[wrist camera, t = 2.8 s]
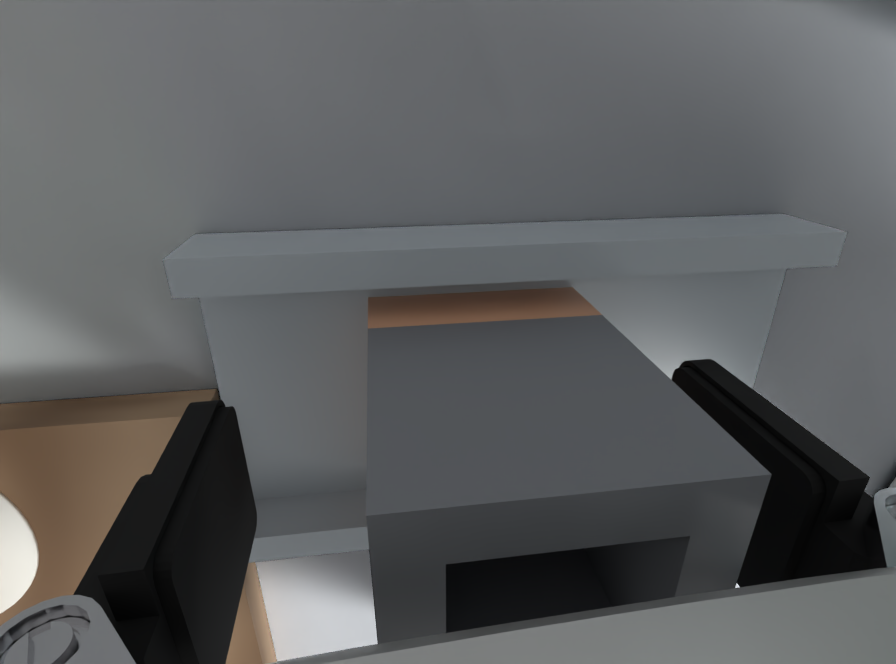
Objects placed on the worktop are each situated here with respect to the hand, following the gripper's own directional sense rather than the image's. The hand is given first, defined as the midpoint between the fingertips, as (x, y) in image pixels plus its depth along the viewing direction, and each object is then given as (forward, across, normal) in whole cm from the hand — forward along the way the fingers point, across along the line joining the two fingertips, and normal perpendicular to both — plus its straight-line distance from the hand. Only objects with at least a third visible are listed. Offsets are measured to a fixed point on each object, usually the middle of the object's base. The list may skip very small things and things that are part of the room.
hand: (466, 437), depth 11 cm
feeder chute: (+3, -2, 0) cm, 4 cm away
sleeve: (+3, -1, 0) cm, 3 cm away
